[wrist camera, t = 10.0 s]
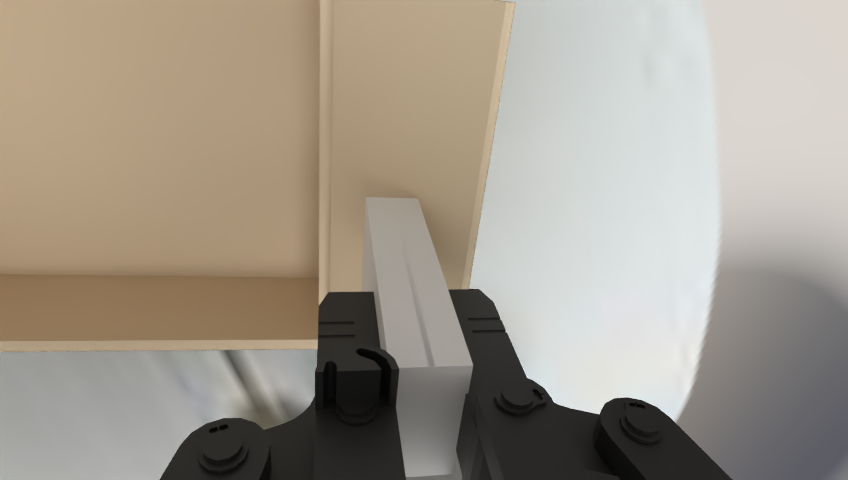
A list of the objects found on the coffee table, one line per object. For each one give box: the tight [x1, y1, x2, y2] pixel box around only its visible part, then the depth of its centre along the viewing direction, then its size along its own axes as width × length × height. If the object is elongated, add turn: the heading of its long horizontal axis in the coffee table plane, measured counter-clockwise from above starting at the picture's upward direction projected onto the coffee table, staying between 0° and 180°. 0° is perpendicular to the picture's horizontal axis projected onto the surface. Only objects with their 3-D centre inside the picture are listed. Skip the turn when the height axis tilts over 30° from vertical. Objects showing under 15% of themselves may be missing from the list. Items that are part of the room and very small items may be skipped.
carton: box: [0, 0, 334, 352], centre depth 20 cm, size 16×15×5 cm
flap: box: [330, 0, 515, 292], centre depth 16 cm, size 6×13×1 cm
